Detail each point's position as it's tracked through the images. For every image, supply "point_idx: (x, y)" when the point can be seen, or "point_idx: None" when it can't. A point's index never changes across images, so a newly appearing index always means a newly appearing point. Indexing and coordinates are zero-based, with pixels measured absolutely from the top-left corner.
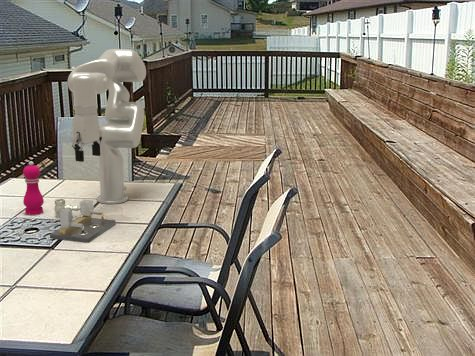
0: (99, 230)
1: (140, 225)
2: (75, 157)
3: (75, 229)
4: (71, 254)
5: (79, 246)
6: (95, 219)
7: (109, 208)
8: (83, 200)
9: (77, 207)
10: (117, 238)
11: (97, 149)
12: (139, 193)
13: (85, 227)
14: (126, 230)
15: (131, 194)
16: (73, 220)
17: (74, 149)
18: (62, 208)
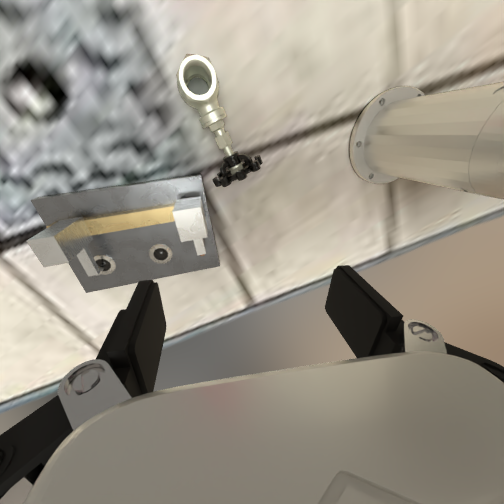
0: (143, 279)
1: (236, 299)
2: (133, 295)
3: (110, 233)
4: (14, 301)
5: (60, 286)
6: None
7: (317, 178)
8: (190, 212)
9: (226, 146)
10: None
11: (349, 332)
12: None
13: (138, 243)
14: (198, 297)
15: None
16: (162, 180)
17: (69, 381)
18: (190, 104)
